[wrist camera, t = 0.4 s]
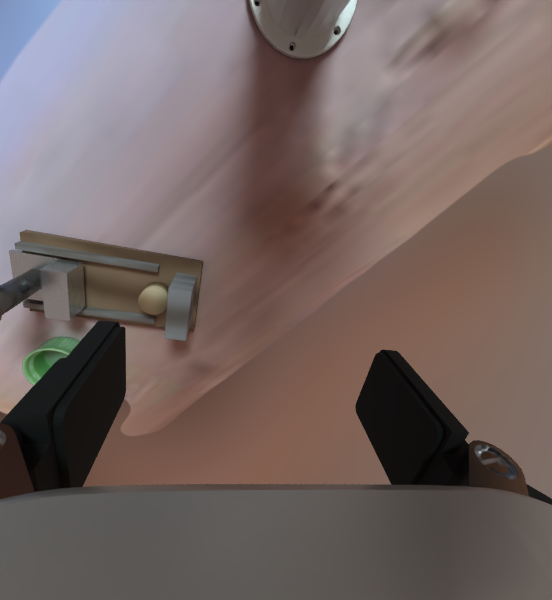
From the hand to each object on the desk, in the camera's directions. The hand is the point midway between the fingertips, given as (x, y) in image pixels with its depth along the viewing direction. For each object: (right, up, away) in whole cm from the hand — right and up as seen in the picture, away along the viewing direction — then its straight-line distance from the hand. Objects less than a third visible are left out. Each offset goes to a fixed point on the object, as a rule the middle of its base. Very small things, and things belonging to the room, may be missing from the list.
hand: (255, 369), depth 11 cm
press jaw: (-32, +6, +31) cm, 44 cm away
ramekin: (-35, -7, +39) cm, 53 cm away
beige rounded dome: (-17, +4, +34) cm, 38 cm away
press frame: (-23, +5, +34) cm, 41 cm away
